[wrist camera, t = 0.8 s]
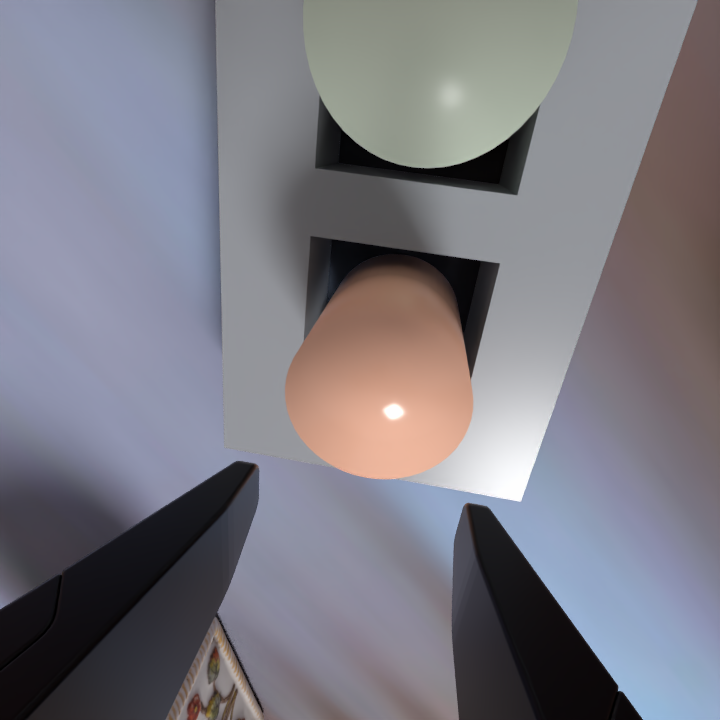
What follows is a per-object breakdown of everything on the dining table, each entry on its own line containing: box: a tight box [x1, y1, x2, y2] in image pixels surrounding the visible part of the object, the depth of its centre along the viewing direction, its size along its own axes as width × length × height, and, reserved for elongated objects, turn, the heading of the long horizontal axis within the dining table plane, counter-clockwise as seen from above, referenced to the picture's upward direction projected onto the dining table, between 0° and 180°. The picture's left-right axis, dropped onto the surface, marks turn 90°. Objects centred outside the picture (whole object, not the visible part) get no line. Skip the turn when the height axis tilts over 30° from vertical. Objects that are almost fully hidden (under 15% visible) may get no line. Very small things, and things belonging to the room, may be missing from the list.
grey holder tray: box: [215, 0, 698, 502], centre depth 14 cm, size 12×28×4 cm, turn 174°
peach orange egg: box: [285, 254, 473, 479], centre depth 15 cm, size 5×5×6 cm
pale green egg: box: [303, 0, 578, 168], centre depth 11 cm, size 5×5×6 cm
